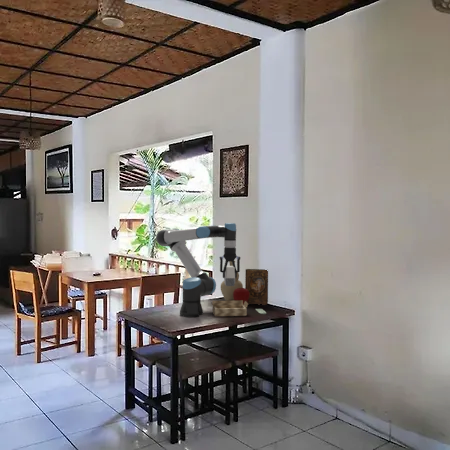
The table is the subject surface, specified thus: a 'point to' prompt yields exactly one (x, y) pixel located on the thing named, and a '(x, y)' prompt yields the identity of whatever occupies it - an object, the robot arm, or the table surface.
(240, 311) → the carton
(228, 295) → the vase
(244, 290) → the apple
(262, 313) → the mat
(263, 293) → the book
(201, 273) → the robot arm
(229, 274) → the block
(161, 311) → the table surface
